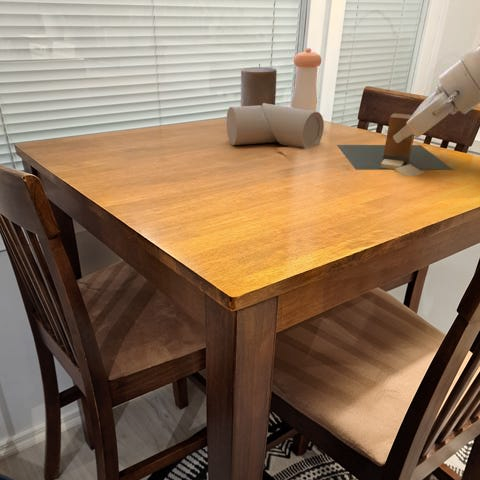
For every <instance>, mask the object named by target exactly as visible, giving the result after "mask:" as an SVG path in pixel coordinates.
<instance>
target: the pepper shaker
mask: <svg viewBox="0 0 480 480" xmlns="http://www.w3.org/2000/svg"><path fill="white" fill-rule="evenodd" d="M293 64H294V66H296V67H295V80H294V81H295V82H294V87H293V88H294V89H293V93H292V98H291V108H296V109H302V110H308V111H314V112H317V106H318V105H317V104H318V91H317V82H318V81H317V80H318V69H319V68H318V67H320V66H321V64H322V56H321V54H319V53H317V52H315V51H312V49H311V48H309V47H306V48H305V49H304V51H300V52H298V53H297V54H295V56H294V59H293Z"/></svg>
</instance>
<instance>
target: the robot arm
mask: <svg viewBox="0 0 480 480" xmlns="http://www.w3.org/2000/svg"><path fill="white" fill-rule="evenodd" d="M438 80H439V84H437V85H436V86H434V91H433V92H431V94H429V95H428V97H426V98H425V99H424V100H423V101H422V102H421V103H420V105H419V106H418V107H417V108H416V110H415V111H414V112H413V113H412V114H411V115H412V116H411V117H410V119H409V120H408V121H407V123H406V124H407V125H406V126H405V127H403V128H402V129H401V130H400V131H398V132H397V133H396V134H395V135H394V136H393V139H394V140H395V142H396V143H399V142H401V141H402V140H403V139H405V138H407V137H408V136H410V135H412V134H413V135H414V138H420V137H422V136H423V135H424V134H425V133H426V132H428V131H429V130H431V129H433V127H434V126H436V125H437V124H438V123H439V122H441V121H442V120H444V119H445V118H447V116H448V115H452V116H453V115H455V114H456V113H458V112H460V113H461V114H463V115H466V114H468V113H469V112H470V111H471V110H473V109H474V108H476V107H477V106H478V105H480V44H479V45H478V46H477V47H476V48H474V50H473V49H472V51H470V52H468V53H467V54H464V55H462V56H461V57H460V58H458V60H456V61H455V62H453V64H452V65H450V66H449V67H448V68H446V69H445V70H444V71H443V72H441V73H440V74H439V75H438Z"/></svg>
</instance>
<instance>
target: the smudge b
mask: <svg viewBox="0 0 480 480" xmlns="http://www.w3.org/2000/svg"><path fill="white" fill-rule="evenodd" d="M393 171H394V172H395V173H397V174H401V175H403V176H406V177H415V176H420V175H424V174H425V172H424V171H423V170H419V169H417V168H416V167H414V166H412V165H411V164H408V165H405V166H402V167H399V168H396V169H395V170H393Z"/></svg>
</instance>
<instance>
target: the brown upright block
mask: <svg viewBox="0 0 480 480" xmlns="http://www.w3.org/2000/svg"><path fill="white" fill-rule="evenodd" d="M412 115H413V114H404V113H396V112H395V113H392V114H391V115H390V116H389V121H388V126H387V133H386V137H385V144H384V145H385V150H384V155H383V160H384V159H391V160H399V161H404V163H403V165H407V164H408V162H409V160H410V155H411V150H412V145H414V139H415V136H414V135H413V134H412V135H410V136H408V137H407V138H405V139H403V140H402V141H401V142H399V143H396V142H395V140H394V139H393V136H394V135H395V134H396V133H397V132H398V131H400V130H401V129H402V128H403V127H405V126H406V125H407V124H406V123H407V121H408V120H409V119H410V117H411V116H412Z"/></svg>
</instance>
